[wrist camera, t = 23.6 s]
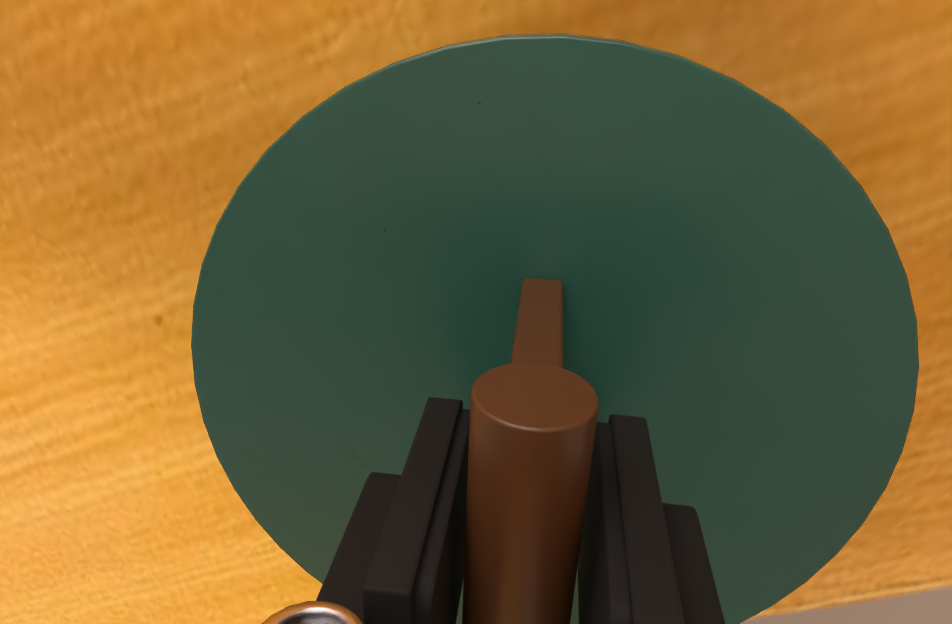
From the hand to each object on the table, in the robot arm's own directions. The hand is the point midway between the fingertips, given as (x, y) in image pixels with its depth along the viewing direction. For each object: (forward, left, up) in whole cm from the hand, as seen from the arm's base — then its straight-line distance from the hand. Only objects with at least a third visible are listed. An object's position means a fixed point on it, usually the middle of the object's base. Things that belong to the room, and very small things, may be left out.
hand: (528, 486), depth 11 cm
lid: (0, 0, -3) cm, 3 cm away
